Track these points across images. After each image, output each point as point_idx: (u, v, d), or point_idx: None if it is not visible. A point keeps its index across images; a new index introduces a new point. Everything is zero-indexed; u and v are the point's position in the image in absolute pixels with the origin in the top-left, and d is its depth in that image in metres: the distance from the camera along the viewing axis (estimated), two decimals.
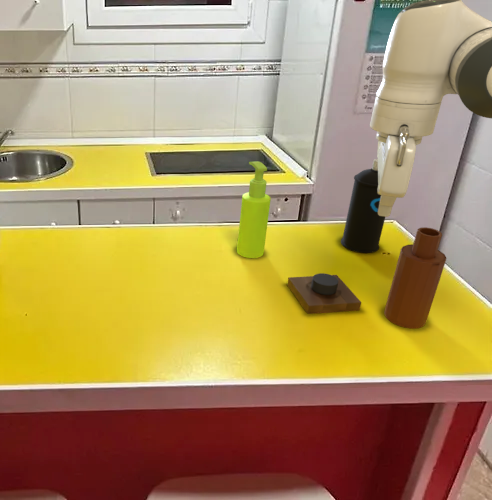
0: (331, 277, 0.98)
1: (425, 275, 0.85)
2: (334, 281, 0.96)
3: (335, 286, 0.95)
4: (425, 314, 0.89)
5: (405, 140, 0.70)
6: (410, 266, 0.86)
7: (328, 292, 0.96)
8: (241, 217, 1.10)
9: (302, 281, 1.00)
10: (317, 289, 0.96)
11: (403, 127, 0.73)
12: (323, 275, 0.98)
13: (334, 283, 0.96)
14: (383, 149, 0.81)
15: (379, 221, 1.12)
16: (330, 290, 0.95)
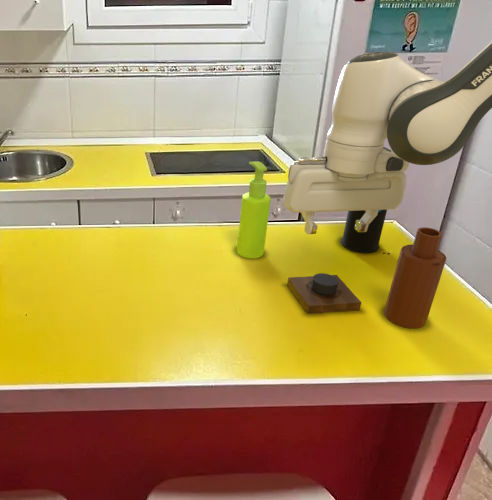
0: (331, 277, 0.98)
1: (425, 275, 0.85)
2: (334, 281, 0.96)
3: (335, 286, 0.95)
4: (425, 314, 0.89)
5: None
6: (410, 266, 0.86)
7: (328, 292, 0.96)
8: (241, 217, 1.10)
9: (302, 281, 1.00)
10: (317, 289, 0.96)
11: (317, 157, 0.85)
12: (323, 275, 0.98)
13: (334, 283, 0.96)
14: None
15: (379, 221, 1.12)
16: (330, 290, 0.95)
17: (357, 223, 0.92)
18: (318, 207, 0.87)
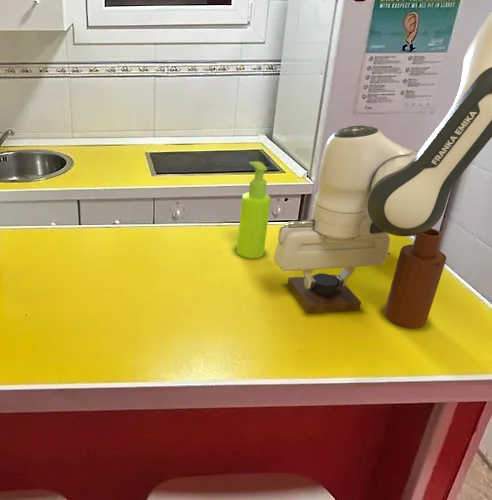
0: (331, 277, 0.98)
1: (425, 275, 0.85)
2: (334, 281, 0.96)
3: (335, 286, 0.95)
4: (425, 314, 0.89)
5: (283, 226, 0.90)
6: (410, 266, 0.86)
7: (328, 292, 0.96)
8: (241, 217, 1.10)
9: (302, 281, 1.00)
10: (316, 289, 0.96)
11: (305, 220, 0.91)
12: (323, 275, 0.98)
13: (334, 283, 0.96)
14: None
15: None
16: (330, 290, 0.95)
17: None
18: (307, 266, 0.93)
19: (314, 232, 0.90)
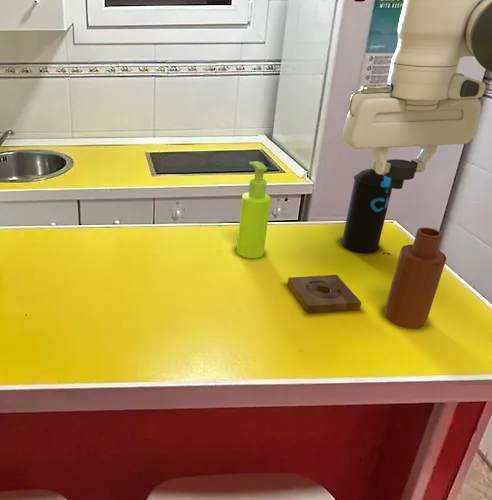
0: (407, 162, 0.84)
1: (425, 275, 0.85)
2: (411, 164, 0.82)
3: (413, 169, 0.81)
4: (425, 314, 0.89)
5: (355, 91, 0.77)
6: (410, 266, 0.86)
7: (405, 176, 0.82)
8: (241, 217, 1.10)
9: (302, 281, 1.00)
10: (391, 174, 0.82)
11: (382, 85, 0.77)
12: (397, 160, 0.84)
13: (413, 166, 0.82)
14: None
15: (379, 221, 1.12)
16: (408, 174, 0.81)
17: None
18: (383, 142, 0.79)
19: (392, 98, 0.77)
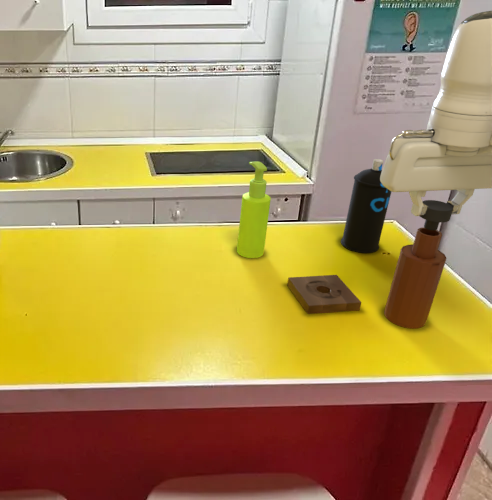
0: (443, 203, 0.84)
1: (425, 275, 0.85)
2: (448, 207, 0.82)
3: (450, 212, 0.82)
4: (425, 314, 0.89)
5: (397, 136, 0.77)
6: (410, 266, 0.86)
7: (442, 219, 0.82)
8: (241, 217, 1.10)
9: (302, 281, 1.00)
10: (428, 216, 0.82)
11: None
12: (433, 201, 0.84)
13: (449, 208, 0.82)
14: None
15: (379, 221, 1.12)
16: (444, 216, 0.81)
17: None
18: (421, 186, 0.79)
19: (434, 143, 0.77)
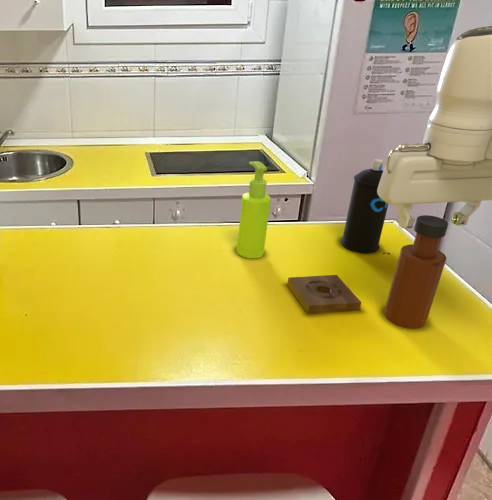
0: (438, 219, 0.85)
1: (425, 275, 0.85)
2: (443, 222, 0.84)
3: (445, 228, 0.83)
4: (425, 314, 0.89)
5: None
6: (410, 266, 0.86)
7: (437, 235, 0.83)
8: (241, 217, 1.10)
9: (302, 281, 1.00)
10: (423, 232, 0.84)
11: (419, 143, 0.78)
12: (428, 217, 0.86)
13: (444, 224, 0.83)
14: None
15: (379, 221, 1.12)
16: (439, 232, 0.83)
17: (455, 216, 0.85)
18: (418, 199, 0.80)
19: (430, 157, 0.77)
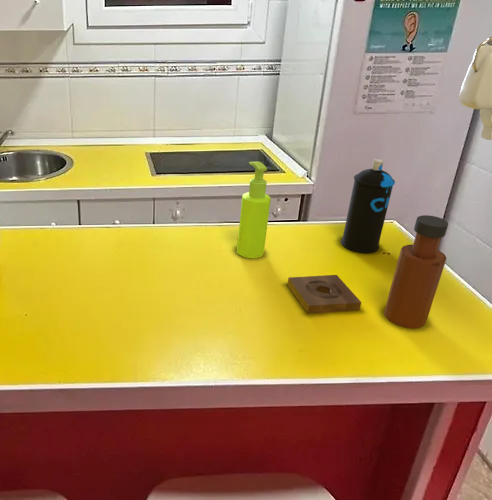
0: (438, 219, 0.85)
1: (425, 275, 0.85)
2: (443, 222, 0.84)
3: (445, 228, 0.83)
4: (425, 314, 0.89)
5: (482, 43, 0.68)
6: (410, 266, 0.86)
7: (437, 235, 0.83)
8: (241, 217, 1.10)
9: (302, 281, 1.00)
10: (423, 232, 0.84)
11: None
12: (428, 217, 0.86)
13: (444, 224, 0.83)
14: None
15: (379, 221, 1.12)
16: (439, 232, 0.83)
17: None
18: None
19: None
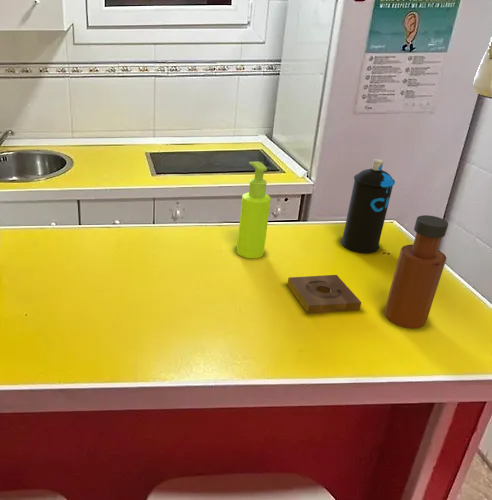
0: (438, 219, 0.85)
1: (425, 275, 0.85)
2: (443, 222, 0.84)
3: (445, 228, 0.83)
4: (425, 314, 0.89)
5: None
6: (410, 266, 0.86)
7: (437, 235, 0.83)
8: (241, 217, 1.10)
9: (302, 281, 1.00)
10: (423, 232, 0.84)
11: None
12: (428, 217, 0.86)
13: (444, 224, 0.83)
14: None
15: (379, 221, 1.12)
16: (439, 232, 0.83)
17: None
18: None
19: None
